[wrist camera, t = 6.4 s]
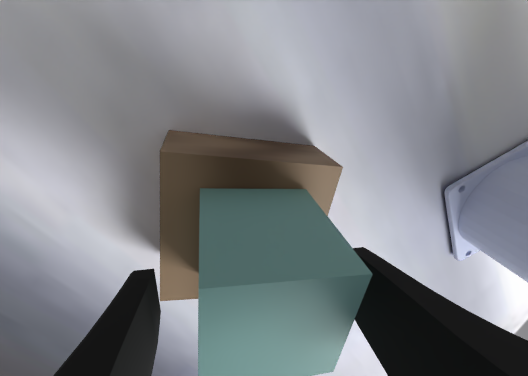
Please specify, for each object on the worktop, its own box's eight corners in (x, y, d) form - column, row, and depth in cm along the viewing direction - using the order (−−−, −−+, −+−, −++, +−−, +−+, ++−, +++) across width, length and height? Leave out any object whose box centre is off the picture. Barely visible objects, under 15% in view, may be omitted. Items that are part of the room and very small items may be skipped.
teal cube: (305, 188, 11) (372, 273, 7) (289, 266, 13) (333, 371, 9) (199, 188, 10) (198, 288, 6) (199, 273, 12) (198, 396, 8)
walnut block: (311, 144, 14) (342, 167, 11) (285, 250, 17) (303, 291, 14) (169, 128, 12) (160, 151, 9) (167, 252, 15) (160, 301, 12)
